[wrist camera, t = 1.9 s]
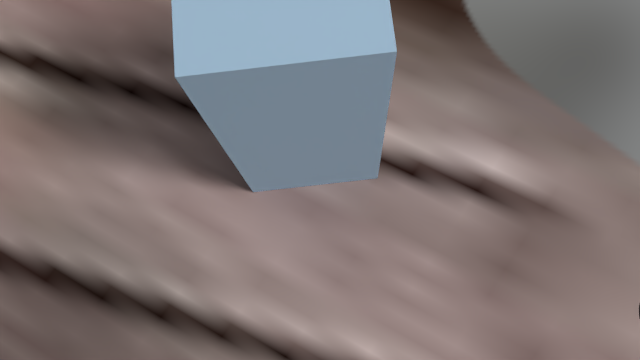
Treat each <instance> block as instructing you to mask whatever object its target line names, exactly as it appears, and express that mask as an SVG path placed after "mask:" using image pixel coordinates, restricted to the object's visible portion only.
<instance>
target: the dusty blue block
mask: <svg viewBox="0 0 640 360" xmlns="http://www.w3.org/2000/svg"><path fill="white" fill-rule="evenodd" d="M172 23H173V46H174V69H175V78H176V80H177V81H178V83H179V84H180V86H181V87H182V89H183V90H184V91H185V93H186V94H187V96H188V97H189V99H190V100H191V102H192V103H193V105H194V106H195V108H196V109H197V111H198V112H199V113H200V115H201V116H202V118H203V119H204V121H205V122H206V124H207V125H208V127H209V128H210V130H211V131H212V133H213V134H214V136H215V137H216V138H217V140H218V141H219V143H220V144H221V146H222V147H223V149H224V150H225V152H226V153H227V155H228V156H229V158H230V159H231V160H232V162H233V163H234V165H235V166H236V168H237V169H238V171H239V172H240V174H241V175H242V177H243V178H244V180H245V181H246V183H247V184H248V185H249V187H250V188H251V190H252V191H253V192H258V191H267V190H276V189H285V188H294V187H303V186H312V185H321V184H330V183H339V182H348V181H357V180H366V179H375V178H378V172H379V165H380V159H381V152H382V145H383V139H384V132H385V126H386V119H387V113H388V106H389V100H390V93H391V87H392V80H393V74H394V67H395V60H396V54H397V49H396V42H395V35H394V28H393V22H392V15H391V8H390V1H389V0H172Z"/></svg>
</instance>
